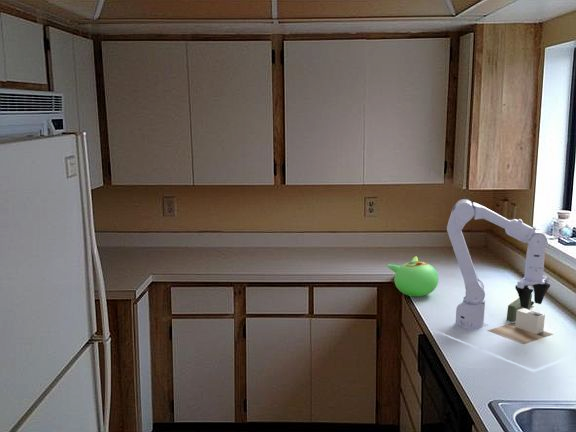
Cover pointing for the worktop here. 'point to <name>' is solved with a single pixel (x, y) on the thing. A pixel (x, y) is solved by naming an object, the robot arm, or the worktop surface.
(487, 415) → the worktop surface
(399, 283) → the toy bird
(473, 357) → the worktop surface
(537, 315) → the block
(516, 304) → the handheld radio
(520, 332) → the board
